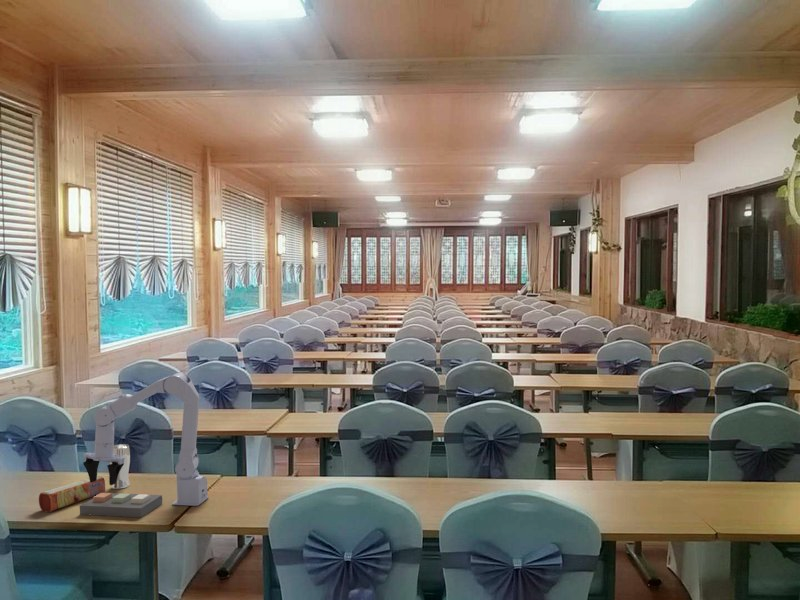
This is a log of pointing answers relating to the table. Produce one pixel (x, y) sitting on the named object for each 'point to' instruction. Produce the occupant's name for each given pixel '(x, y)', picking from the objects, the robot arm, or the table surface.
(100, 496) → the terracotta button
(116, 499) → the sage button
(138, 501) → the off-white button
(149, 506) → the button panel
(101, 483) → the snack package
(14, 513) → the table surface
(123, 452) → the beer glass
